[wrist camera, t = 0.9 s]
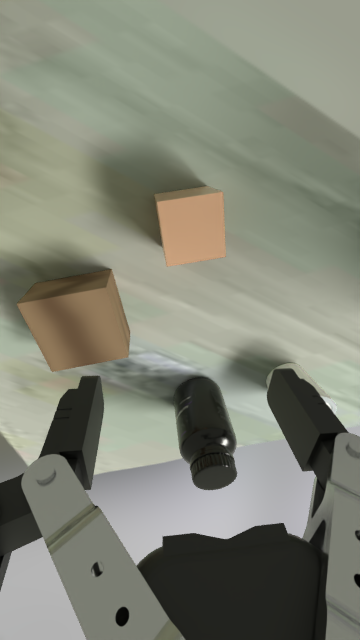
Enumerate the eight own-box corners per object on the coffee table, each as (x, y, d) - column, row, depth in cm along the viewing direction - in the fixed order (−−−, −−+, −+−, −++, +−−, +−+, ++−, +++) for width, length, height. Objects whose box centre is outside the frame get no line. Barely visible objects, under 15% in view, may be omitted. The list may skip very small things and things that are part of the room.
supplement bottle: (170, 379, 37) (180, 464, 26) (219, 372, 37) (248, 453, 27) (175, 414, 40) (186, 500, 30) (220, 406, 41) (246, 490, 30)
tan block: (206, 185, 25) (223, 191, 20) (210, 239, 28) (225, 256, 23) (153, 194, 25) (156, 202, 20) (162, 247, 28) (167, 266, 22)
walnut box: (111, 268, 28) (106, 287, 24) (130, 331, 32) (128, 357, 28) (35, 282, 28) (16, 304, 24) (64, 343, 32) (51, 371, 28)
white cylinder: (252, 383, 39) (271, 424, 33) (288, 351, 37) (316, 388, 31) (282, 401, 42) (305, 442, 36) (317, 372, 39) (348, 410, 33)
